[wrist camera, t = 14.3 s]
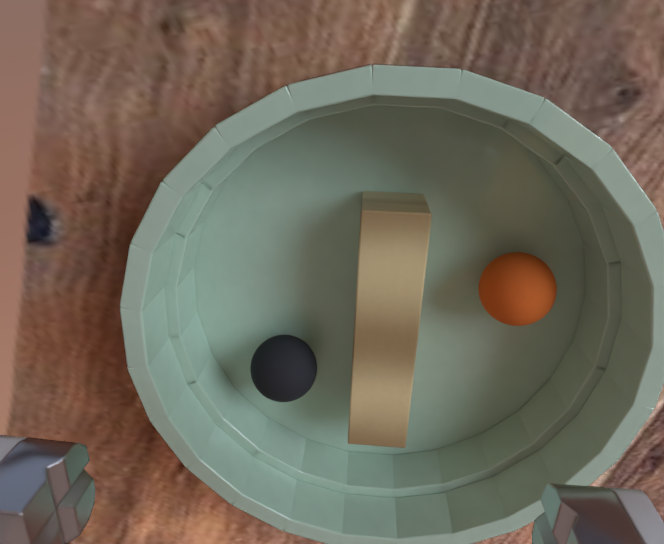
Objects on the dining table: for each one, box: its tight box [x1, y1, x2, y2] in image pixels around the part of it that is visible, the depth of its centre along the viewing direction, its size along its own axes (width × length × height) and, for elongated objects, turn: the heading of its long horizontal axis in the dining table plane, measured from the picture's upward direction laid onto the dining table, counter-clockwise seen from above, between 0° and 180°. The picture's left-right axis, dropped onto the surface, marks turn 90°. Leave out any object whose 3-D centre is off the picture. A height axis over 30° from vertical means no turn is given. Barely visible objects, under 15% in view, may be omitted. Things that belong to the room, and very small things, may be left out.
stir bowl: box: [120, 64, 664, 544], centre depth 20 cm, size 19×19×5 cm
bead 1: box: [250, 335, 317, 402], centre depth 21 cm, size 3×3×3 cm
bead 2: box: [478, 252, 557, 326], centre depth 19 cm, size 3×3×3 cm
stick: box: [348, 191, 432, 448], centre depth 20 cm, size 10×2×3 cm, turn 178°
